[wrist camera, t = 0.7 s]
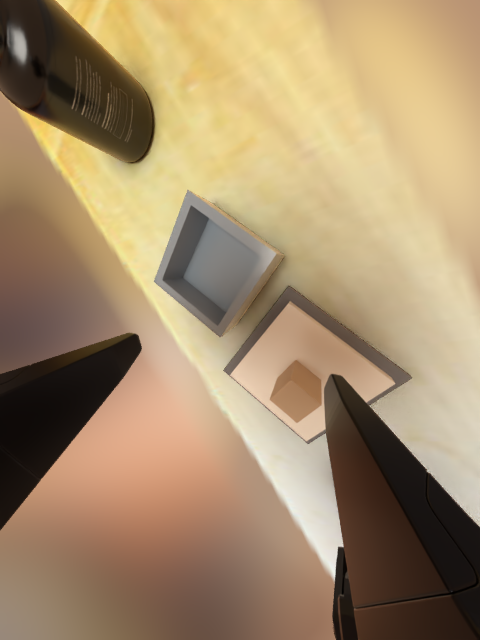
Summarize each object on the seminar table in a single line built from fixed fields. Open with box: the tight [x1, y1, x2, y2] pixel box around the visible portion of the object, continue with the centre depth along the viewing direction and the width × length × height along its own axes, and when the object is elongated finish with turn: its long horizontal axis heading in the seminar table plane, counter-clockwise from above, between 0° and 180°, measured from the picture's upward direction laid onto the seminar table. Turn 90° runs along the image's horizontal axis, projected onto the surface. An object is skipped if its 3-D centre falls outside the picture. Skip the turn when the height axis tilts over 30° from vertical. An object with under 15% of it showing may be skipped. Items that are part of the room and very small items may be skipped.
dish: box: [154, 190, 285, 337], centre depth 18 cm, size 9×9×4 cm
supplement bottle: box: [0, 0, 152, 162], centre depth 14 cm, size 7×7×12 cm
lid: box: [230, 301, 395, 441], centre depth 17 cm, size 11×11×4 cm
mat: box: [223, 286, 412, 444], centre depth 20 cm, size 13×13×1 cm
